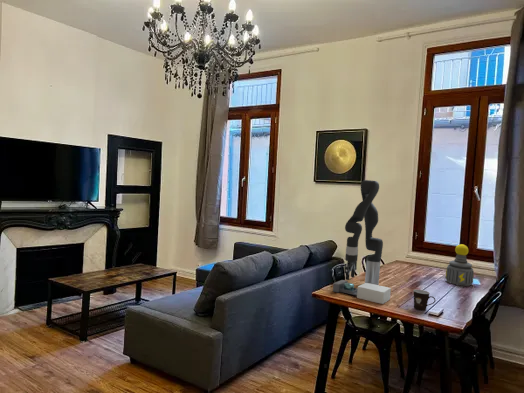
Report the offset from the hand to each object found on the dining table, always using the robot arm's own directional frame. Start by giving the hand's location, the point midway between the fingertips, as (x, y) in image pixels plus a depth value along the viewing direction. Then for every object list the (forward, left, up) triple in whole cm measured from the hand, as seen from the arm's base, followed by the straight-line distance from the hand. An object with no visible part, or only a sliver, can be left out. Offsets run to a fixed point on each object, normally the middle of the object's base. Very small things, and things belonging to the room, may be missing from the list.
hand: (349, 278), depth 243 cm
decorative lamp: (-96, +50, -9) cm, 108 cm away
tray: (0, +1, -9) cm, 9 cm away
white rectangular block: (0, +16, -9) cm, 19 cm away
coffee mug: (-1, +44, -9) cm, 45 cm away
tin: (0, 0, -8) cm, 8 cm away
